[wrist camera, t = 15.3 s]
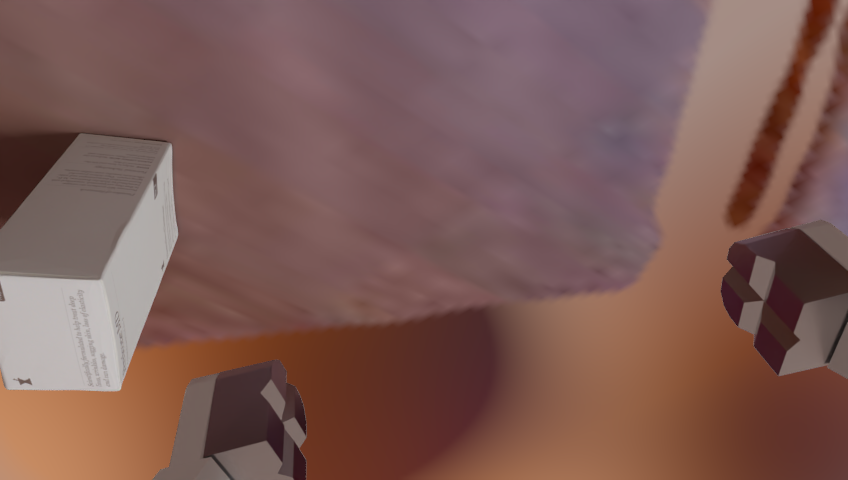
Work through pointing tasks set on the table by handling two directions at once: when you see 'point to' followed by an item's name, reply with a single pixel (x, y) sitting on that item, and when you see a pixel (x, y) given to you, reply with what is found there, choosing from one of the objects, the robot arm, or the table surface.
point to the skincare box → (85, 264)
